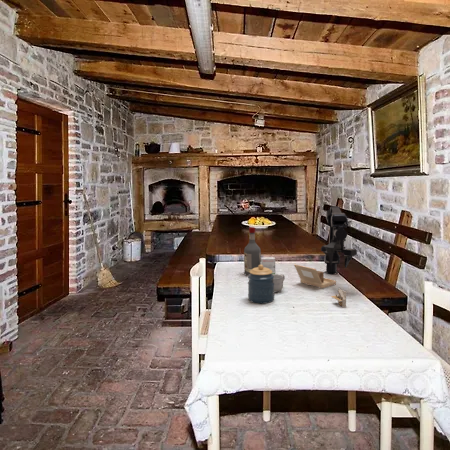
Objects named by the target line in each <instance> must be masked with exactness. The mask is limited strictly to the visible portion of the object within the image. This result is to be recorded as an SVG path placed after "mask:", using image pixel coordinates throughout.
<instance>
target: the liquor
mask: <svg viewBox="0 0 450 450" xmlns="http://www.w3.org/2000/svg"><path fill="white" fill-rule="evenodd" d="M248 233H249V235H248V236H249V238H248V239H249V241H248V243H247V245H246V246H245V247H244V249H243V252H244V253H243V258H244V259H243V261H244V262H243V263H244V265H243V266H244V267H243V269H244V272H243V273H244V275H245V274H246V275H245V276H247V277H248V275H249V274H250V272H249V271H250V270H252V269H253V268H256V267H258V266H259V265H260V264H261V258H262V256H261V255H262V250H261V247H260V246H259V245H258V244H257V242H256V234H255V233H256V227H253V226H252V227H249V228H248Z"/></svg>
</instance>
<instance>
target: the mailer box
mask: <svg viewBox="0 0 450 450" xmlns="http://www.w3.org/2000/svg"><path fill="white" fill-rule="evenodd" d="M299 279H300V278H299ZM301 283H302V284H304V285H309V286H313V287H316V288H320V289H326V288H329V287H332V286H335V285H336V284H337V281H336V280H334V279H330V278H326V277H324V282H323V283H322V284H318V283H314V282H310V281H307V280H303V279H300V284H301ZM334 284H335V285H334Z"/></svg>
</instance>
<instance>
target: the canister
mask: <svg viewBox="0 0 450 450" xmlns="http://www.w3.org/2000/svg"><path fill="white" fill-rule="evenodd" d="M249 272H250V274H249V275H248V276H247V278H248V282H247V284H248V285H247V287H248V294H247V297H248V300H249V301H250V302H252V303H253V304H269V303H272V302H273V301H274V300H275V292H274V282H273V278H274V275H273V274H272V270H270V269H269V268H265V267H263V265H261V264H260V265H259V266H258V267H256V268H253V269H252V270H250V271H249Z"/></svg>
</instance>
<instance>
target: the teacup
mask: <svg viewBox="0 0 450 450" xmlns="http://www.w3.org/2000/svg"><path fill="white" fill-rule="evenodd" d="M273 275H274V278H273V282H274V293H277V292H280V291H281V290H282V289H283V288H284V281H285V279H286V277H285V275H284V274H283V273H282V274H277V273H275V274H273Z"/></svg>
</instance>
